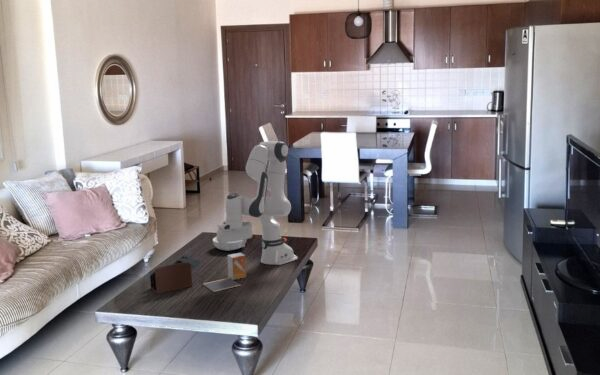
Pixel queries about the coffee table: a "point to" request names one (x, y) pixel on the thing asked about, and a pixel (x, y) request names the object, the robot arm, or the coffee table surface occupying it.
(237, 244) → the serving bowl
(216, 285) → the mat
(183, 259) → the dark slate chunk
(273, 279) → the coffee table surface
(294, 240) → the coffee table surface
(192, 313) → the coffee table surface
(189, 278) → the letter holder
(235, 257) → the small box
